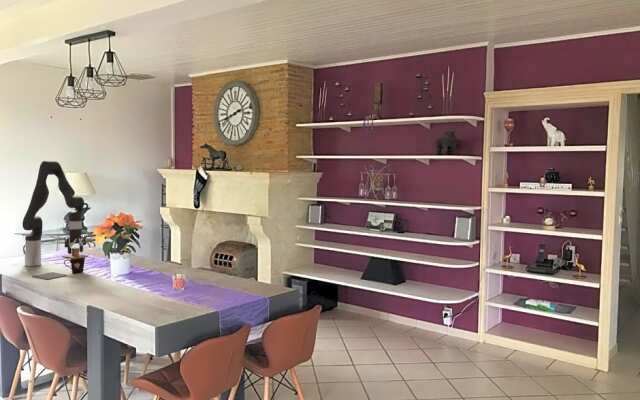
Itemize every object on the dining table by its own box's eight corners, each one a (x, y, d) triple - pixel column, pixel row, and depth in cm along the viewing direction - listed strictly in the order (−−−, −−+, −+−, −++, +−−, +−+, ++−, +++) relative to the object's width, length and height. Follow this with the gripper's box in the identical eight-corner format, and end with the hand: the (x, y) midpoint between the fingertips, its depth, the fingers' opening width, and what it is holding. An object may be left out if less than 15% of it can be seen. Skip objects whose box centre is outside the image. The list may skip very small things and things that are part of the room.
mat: (32, 277, 325) (32, 276, 325) (52, 273, 338) (52, 272, 338) (47, 279, 319) (47, 278, 319) (67, 275, 332) (67, 274, 332)
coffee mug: (87, 271, 345) (87, 256, 344) (80, 274, 337) (80, 258, 336) (70, 270, 346) (70, 255, 346) (63, 273, 338) (63, 257, 337)
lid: (62, 257, 338) (62, 248, 338) (76, 255, 348) (76, 246, 348) (74, 259, 333) (74, 250, 333) (88, 256, 343) (88, 247, 343)
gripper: (80, 226, 347) (80, 250, 349) (61, 228, 335) (61, 253, 336) (88, 227, 344) (88, 252, 345) (69, 229, 331) (69, 255, 332)
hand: (75, 252), depth 341 cm, fingers open, 8 cm apart
